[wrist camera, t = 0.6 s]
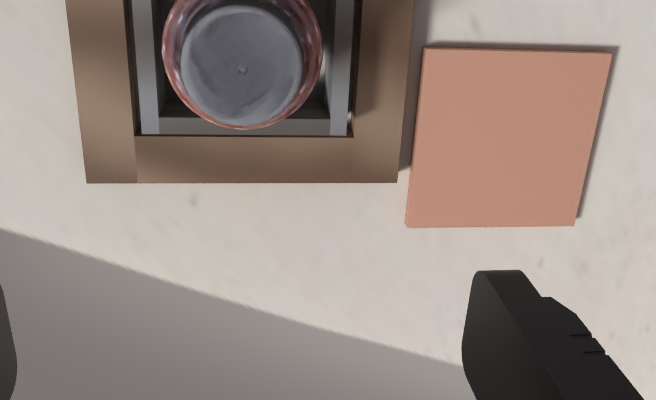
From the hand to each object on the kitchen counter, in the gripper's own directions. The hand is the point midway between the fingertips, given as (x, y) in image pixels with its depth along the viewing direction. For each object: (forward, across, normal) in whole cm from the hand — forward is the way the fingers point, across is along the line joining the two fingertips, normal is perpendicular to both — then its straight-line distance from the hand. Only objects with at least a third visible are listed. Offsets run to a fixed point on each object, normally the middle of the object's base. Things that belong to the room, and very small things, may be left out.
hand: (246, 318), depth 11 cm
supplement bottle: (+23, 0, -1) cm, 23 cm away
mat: (+22, -14, +5) cm, 27 cm away
